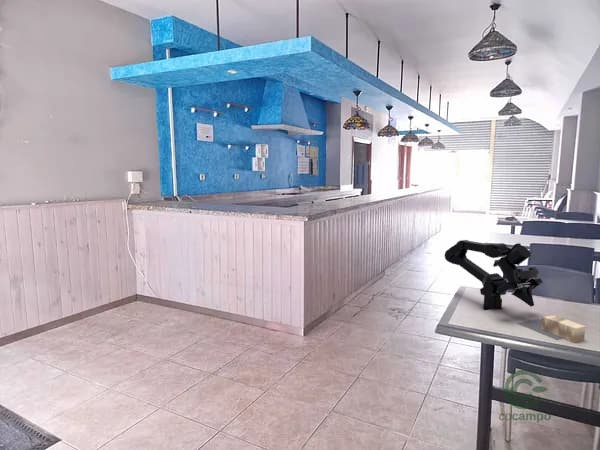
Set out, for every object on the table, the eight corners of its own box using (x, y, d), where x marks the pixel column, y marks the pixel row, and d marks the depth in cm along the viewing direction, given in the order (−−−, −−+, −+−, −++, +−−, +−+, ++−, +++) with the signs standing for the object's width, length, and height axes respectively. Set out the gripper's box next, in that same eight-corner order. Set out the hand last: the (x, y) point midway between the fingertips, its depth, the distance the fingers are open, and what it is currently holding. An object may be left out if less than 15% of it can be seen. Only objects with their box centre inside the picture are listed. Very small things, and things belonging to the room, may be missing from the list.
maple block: (542, 316, 144) (575, 328, 133) (551, 314, 146) (585, 326, 135) (541, 329, 145) (574, 342, 134) (550, 327, 147) (584, 340, 136)
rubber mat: (516, 324, 151) (516, 323, 151) (538, 320, 155) (538, 318, 155) (557, 341, 136) (557, 340, 136) (579, 335, 141) (580, 334, 140)
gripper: (506, 262, 149) (530, 299, 141) (541, 258, 156) (565, 293, 148) (488, 276, 158) (509, 312, 149) (521, 272, 165) (543, 306, 156)
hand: (532, 305), depth 150 cm, fingers closed
